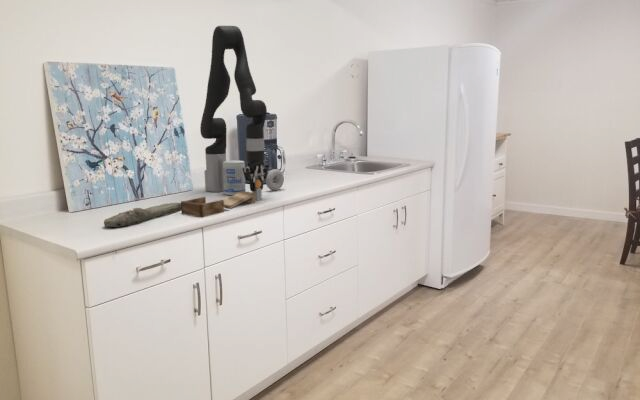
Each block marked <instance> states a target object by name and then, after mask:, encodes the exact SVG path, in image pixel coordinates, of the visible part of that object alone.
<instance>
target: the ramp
mask: <svg viewBox="0 0 640 400" xmlns="http://www.w3.org/2000/svg"><path fill="white" fill-rule="evenodd" d="M223 200H224V209H232V208H234V207H236V206H238V205H240V204H241V203H248V204H255V203H256V200H255V195H254V193H252V191H250V192H249V191H245V192H244V191H241V192H239V193H237V194H235V195H233V196H229V197H227V198H226V199H223Z"/></svg>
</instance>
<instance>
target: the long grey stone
mask: <svg viewBox="0 0 640 400" xmlns="http://www.w3.org/2000/svg"><path fill="white" fill-rule="evenodd" d="M179 211H181V202H170V203H164V204H163V203H162V204H160V205H154V206H150V207H147V208H141V207H135V208H134V207H133V208H132V210H131V209H130V210H126V211H123V212H119V213H118V214H115V215H113V216H111V217H108V218H105V219H104V221H103V225H104V227H106V228H119V227H127V225H128V226H129V225H130V226H131V225H132V224H133V225H136V224H141V223H145V221H149V220H153V219H154V218H156V217H163V216H165V215H168V214H169V215H170V214H174V213H176V212H179Z"/></svg>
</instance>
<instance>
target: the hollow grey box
mask: <svg viewBox="0 0 640 400" xmlns="http://www.w3.org/2000/svg"><path fill="white" fill-rule="evenodd" d="M251 193H254V195H255V202H257V201H261V200H262V199H263V197H262V196H263V194H262V190H261V188H257V189H256V188H255V191H251Z"/></svg>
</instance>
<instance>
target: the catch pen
mask: <svg viewBox="0 0 640 400" xmlns="http://www.w3.org/2000/svg"><path fill="white" fill-rule="evenodd" d="M224 200H225V199H219V200H215V201H209V202H206V196H201V197H197V198H191V199H187V200H182V201H181V200H180V203H181V210H180V211H181V214H183V215H188V216H192V217H193V216H194V217H199V218H204V217H208V216H211V215H212V216H213V215H216V214H219V213H225V211H224V209H225V207H224Z"/></svg>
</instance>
